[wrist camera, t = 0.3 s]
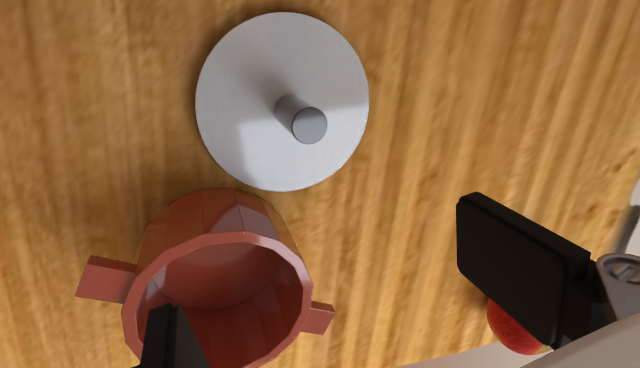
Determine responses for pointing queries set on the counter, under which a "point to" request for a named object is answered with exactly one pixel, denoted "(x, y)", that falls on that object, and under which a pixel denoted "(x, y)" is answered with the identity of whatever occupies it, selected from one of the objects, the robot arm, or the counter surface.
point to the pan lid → (282, 101)
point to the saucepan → (215, 278)
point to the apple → (512, 332)
